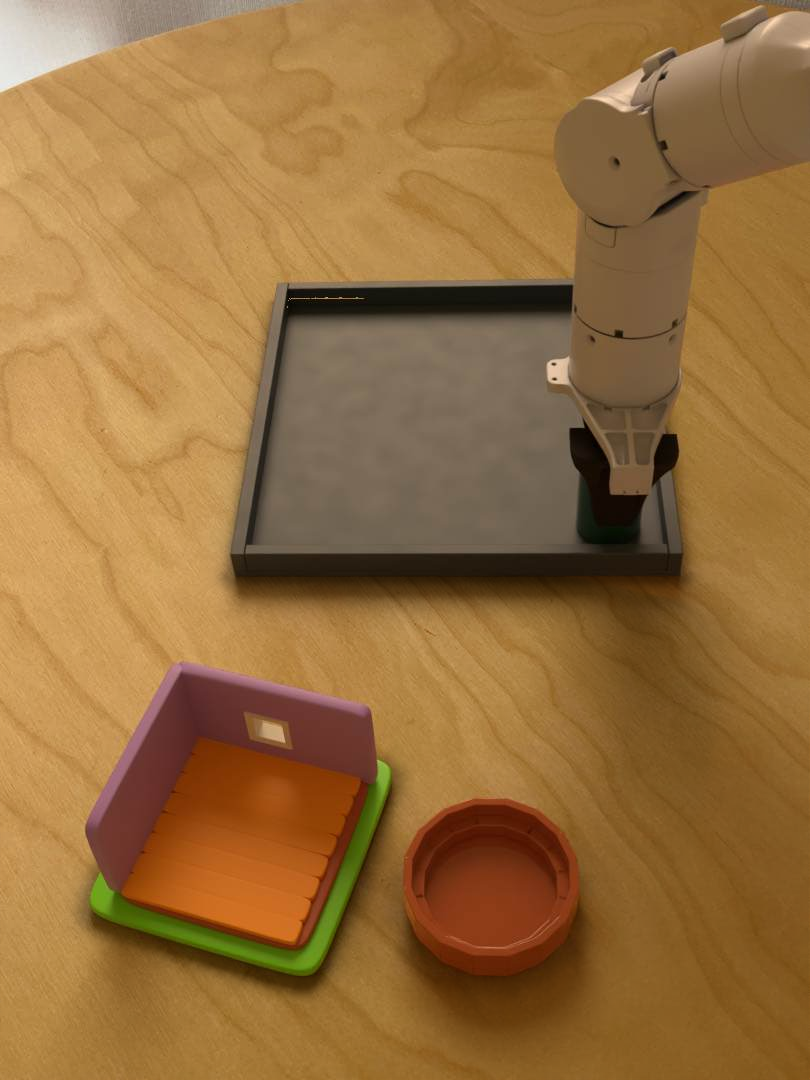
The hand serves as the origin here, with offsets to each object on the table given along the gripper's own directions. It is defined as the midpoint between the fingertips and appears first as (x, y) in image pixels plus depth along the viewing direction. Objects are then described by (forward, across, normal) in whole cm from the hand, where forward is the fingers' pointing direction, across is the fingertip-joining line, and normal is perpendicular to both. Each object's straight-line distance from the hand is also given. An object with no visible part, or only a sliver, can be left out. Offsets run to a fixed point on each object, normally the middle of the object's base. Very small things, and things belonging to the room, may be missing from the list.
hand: (611, 493), depth 77 cm
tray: (+3, -9, -9) cm, 13 cm away
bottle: (+2, 0, 0) cm, 2 cm away
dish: (+3, +24, -7) cm, 25 cm away
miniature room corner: (+3, +21, -19) cm, 28 cm away
